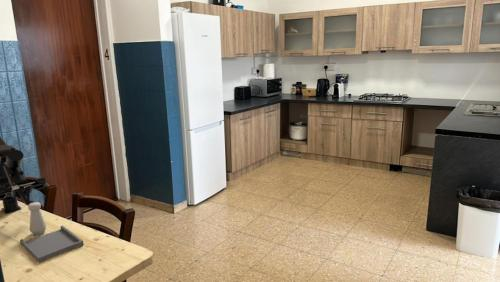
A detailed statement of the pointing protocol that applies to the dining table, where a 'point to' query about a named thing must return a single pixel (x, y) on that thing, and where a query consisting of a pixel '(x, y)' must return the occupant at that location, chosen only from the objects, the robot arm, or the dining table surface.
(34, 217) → the salt shaker
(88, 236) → the dining table surface
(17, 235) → the dining table surface
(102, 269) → the dining table surface
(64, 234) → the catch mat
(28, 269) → the dining table surface
